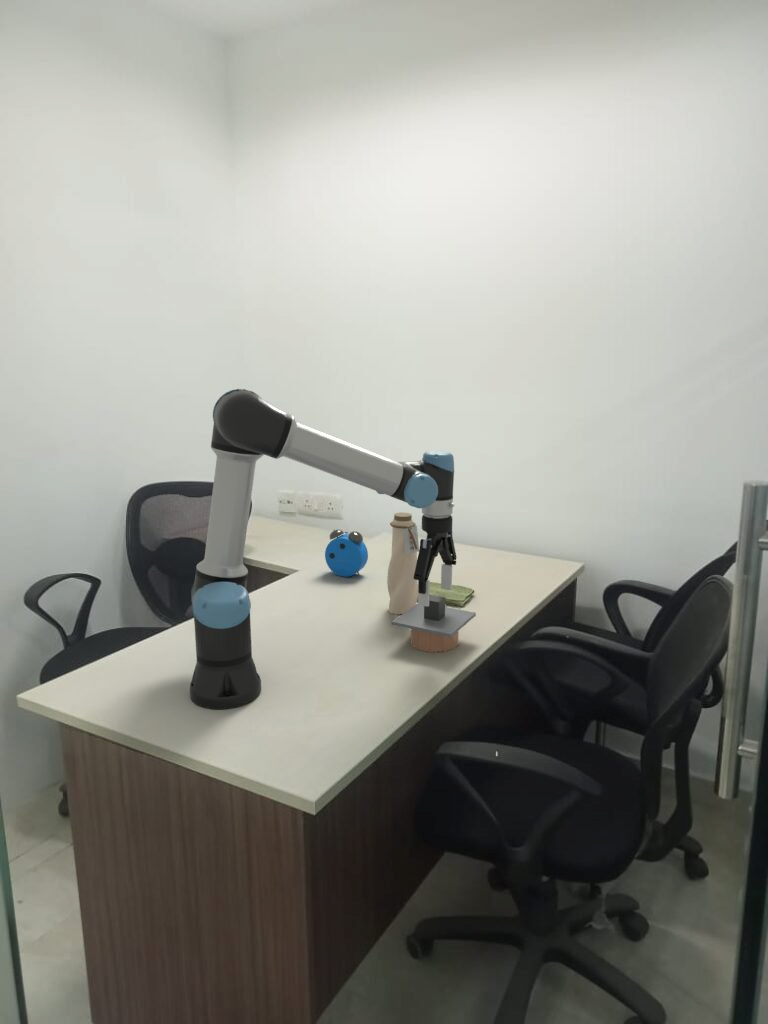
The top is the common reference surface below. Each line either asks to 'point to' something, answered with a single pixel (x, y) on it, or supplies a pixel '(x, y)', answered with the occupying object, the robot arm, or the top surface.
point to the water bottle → (403, 564)
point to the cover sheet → (434, 626)
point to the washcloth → (451, 594)
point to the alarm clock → (346, 553)
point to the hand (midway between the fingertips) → (435, 597)
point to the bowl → (433, 641)
